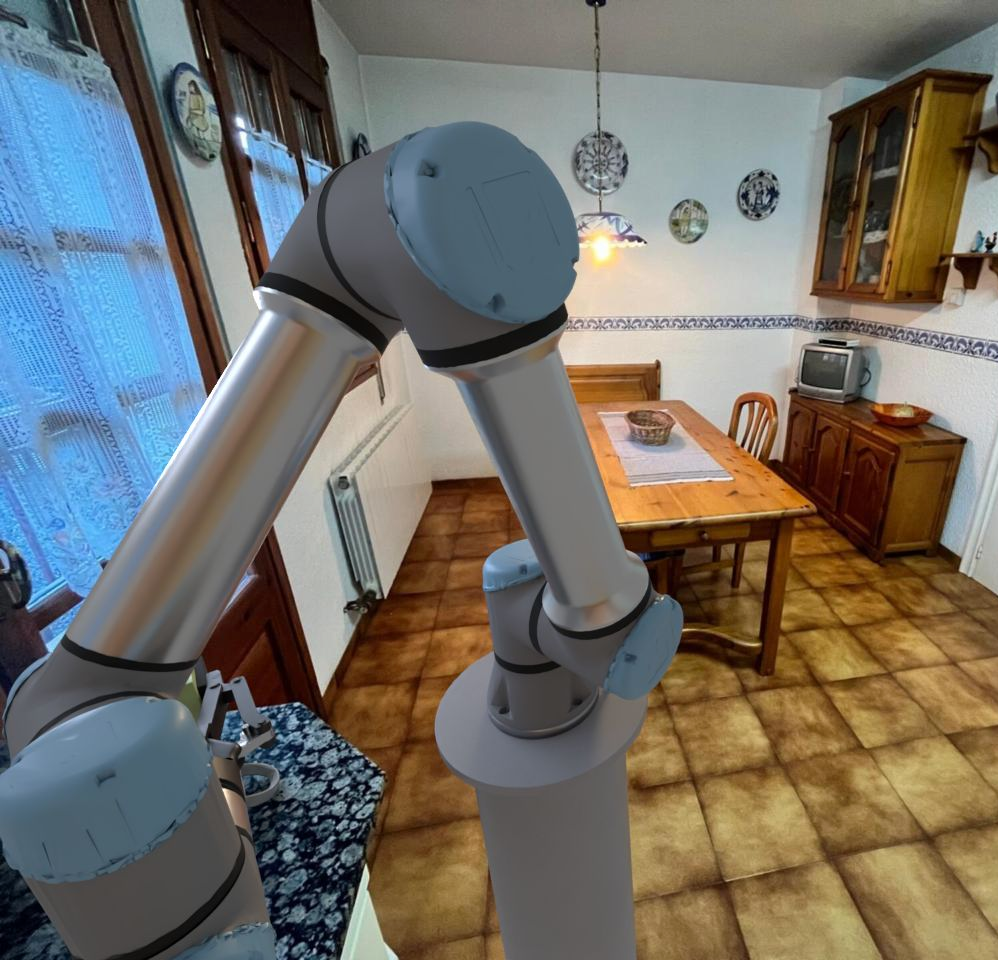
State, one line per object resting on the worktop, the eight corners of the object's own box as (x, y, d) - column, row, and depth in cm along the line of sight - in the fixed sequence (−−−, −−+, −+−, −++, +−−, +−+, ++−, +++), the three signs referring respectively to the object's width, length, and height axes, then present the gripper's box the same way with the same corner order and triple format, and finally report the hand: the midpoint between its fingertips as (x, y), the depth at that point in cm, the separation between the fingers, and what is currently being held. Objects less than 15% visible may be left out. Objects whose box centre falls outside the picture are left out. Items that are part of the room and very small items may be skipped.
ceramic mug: (171, 871, 53) (147, 815, 50) (162, 820, 58) (140, 767, 56) (290, 802, 60) (274, 750, 58) (273, 762, 65) (257, 713, 63)
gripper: (31, 961, 34) (69, 750, 50) (325, 797, 44) (277, 668, 61) (-20, 881, 31) (38, 687, 48) (304, 728, 42) (260, 613, 58)
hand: (172, 677), depth 54 cm, fingers closed on juice box, 4 cm apart
